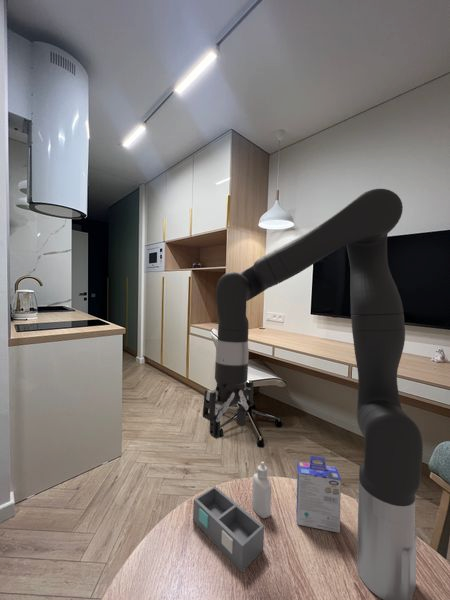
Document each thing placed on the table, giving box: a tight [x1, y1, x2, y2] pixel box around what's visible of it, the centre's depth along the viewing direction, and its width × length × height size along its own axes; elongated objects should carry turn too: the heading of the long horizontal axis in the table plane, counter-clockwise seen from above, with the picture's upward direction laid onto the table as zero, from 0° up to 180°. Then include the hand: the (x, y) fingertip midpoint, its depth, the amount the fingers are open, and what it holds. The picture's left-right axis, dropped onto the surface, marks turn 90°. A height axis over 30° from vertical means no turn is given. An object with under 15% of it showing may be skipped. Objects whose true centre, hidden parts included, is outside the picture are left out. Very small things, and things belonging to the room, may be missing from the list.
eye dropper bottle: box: [251, 461, 272, 519], centre depth 64 cm, size 4×6×12 cm
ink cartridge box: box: [295, 455, 342, 534], centre depth 62 cm, size 10×6×14 cm, turn 78°
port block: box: [192, 485, 265, 573], centre depth 57 cm, size 16×7×5 cm, turn 44°
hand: (228, 430), depth 58 cm, fingers open, 8 cm apart
